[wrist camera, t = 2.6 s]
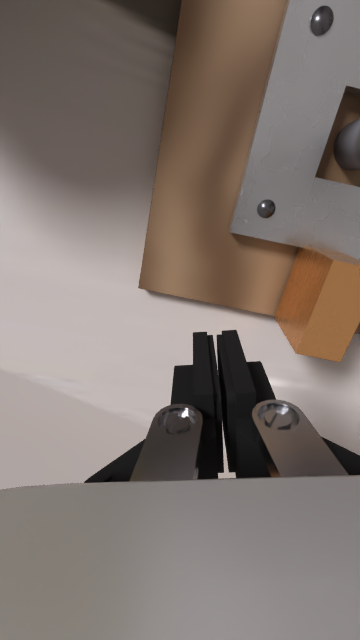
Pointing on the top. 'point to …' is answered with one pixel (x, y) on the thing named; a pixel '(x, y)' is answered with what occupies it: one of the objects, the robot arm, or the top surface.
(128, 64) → the top surface
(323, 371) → the top surface
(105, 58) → the top surface
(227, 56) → the board
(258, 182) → the flange plate
